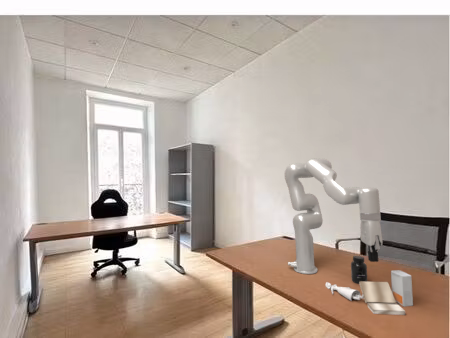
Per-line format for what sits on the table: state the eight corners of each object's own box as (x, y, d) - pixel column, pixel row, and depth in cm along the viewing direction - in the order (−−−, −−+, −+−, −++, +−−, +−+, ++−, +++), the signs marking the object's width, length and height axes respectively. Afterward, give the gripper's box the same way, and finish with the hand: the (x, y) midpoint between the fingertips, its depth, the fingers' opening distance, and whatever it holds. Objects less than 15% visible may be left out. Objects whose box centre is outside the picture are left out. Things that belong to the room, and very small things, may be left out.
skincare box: (391, 299, 102) (390, 270, 102) (401, 298, 102) (399, 269, 102) (403, 306, 96) (401, 276, 96) (413, 306, 96) (412, 275, 96)
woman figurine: (351, 295, 97) (316, 282, 113) (352, 307, 97) (317, 292, 113) (370, 289, 102) (334, 277, 118) (371, 300, 102) (335, 286, 118)
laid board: (373, 313, 92) (373, 309, 92) (367, 306, 97) (367, 302, 97) (405, 315, 90) (405, 310, 90) (397, 307, 95) (397, 303, 95)
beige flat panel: (365, 302, 98) (366, 301, 98) (359, 282, 104) (359, 281, 103) (394, 304, 97) (396, 302, 96) (386, 283, 103) (387, 282, 102)
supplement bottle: (361, 286, 114) (360, 260, 115) (348, 280, 120) (347, 256, 121) (370, 282, 117) (369, 257, 118) (357, 277, 124) (356, 254, 124)
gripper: (353, 214, 111) (356, 255, 110) (368, 219, 96) (372, 267, 95) (371, 214, 110) (374, 255, 109) (389, 219, 95) (392, 267, 94)
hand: (373, 260), depth 102 cm, fingers closed
